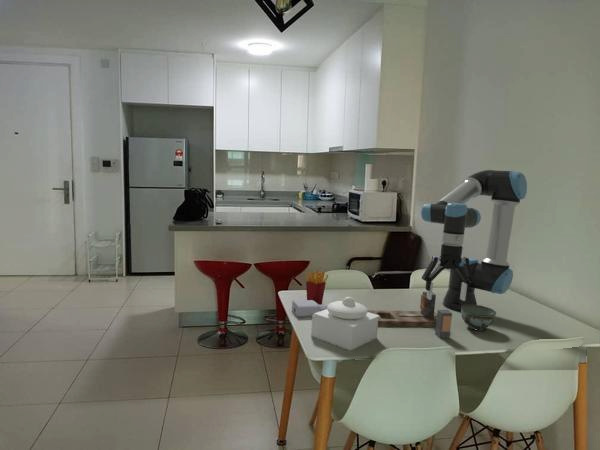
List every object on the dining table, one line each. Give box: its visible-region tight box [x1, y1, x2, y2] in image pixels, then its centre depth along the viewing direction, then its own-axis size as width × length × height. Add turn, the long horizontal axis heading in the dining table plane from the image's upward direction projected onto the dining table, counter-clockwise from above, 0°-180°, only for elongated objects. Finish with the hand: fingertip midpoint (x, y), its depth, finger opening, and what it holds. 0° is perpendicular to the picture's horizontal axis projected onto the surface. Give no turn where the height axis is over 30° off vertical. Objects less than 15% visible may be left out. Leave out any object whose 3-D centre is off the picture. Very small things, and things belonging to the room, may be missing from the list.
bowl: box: [460, 304, 497, 331], centre depth 188 cm, size 14×13×8 cm
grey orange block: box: [434, 309, 453, 339], centre depth 176 cm, size 5×4×10 cm
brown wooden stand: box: [367, 291, 437, 327], centre depth 192 cm, size 30×13×12 cm, turn 98°
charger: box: [291, 299, 328, 318], centre depth 195 cm, size 5×9×15 cm
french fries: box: [305, 270, 329, 304], centre depth 209 cm, size 9×8×15 cm
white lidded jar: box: [310, 296, 380, 352], centre depth 169 cm, size 18×18×16 cm
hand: (445, 299), depth 175 cm, fingers open, 13 cm apart
